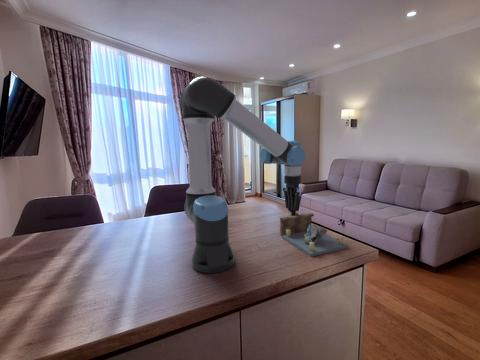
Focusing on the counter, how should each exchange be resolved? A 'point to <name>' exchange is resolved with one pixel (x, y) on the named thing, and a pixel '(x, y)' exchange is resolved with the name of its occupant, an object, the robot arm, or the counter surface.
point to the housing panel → (295, 223)
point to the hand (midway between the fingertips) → (292, 224)
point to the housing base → (313, 249)
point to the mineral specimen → (314, 234)
